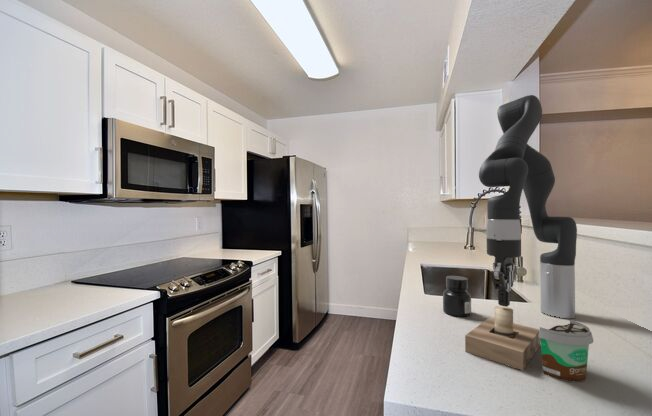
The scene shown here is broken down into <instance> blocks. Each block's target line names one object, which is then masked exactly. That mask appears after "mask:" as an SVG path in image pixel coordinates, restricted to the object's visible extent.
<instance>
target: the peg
mask: <svg viewBox="0 0 652 416" xmlns="http://www.w3.org/2000/svg"><path fill="white" fill-rule="evenodd" d="M494 319H495V328H494V331H495V334H497V335H501V336H504V337H508V338H512V339H513V323H514V309H513V308H511V307H509V306H507V307H505V306H500V305H496V306H494Z"/></svg>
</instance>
